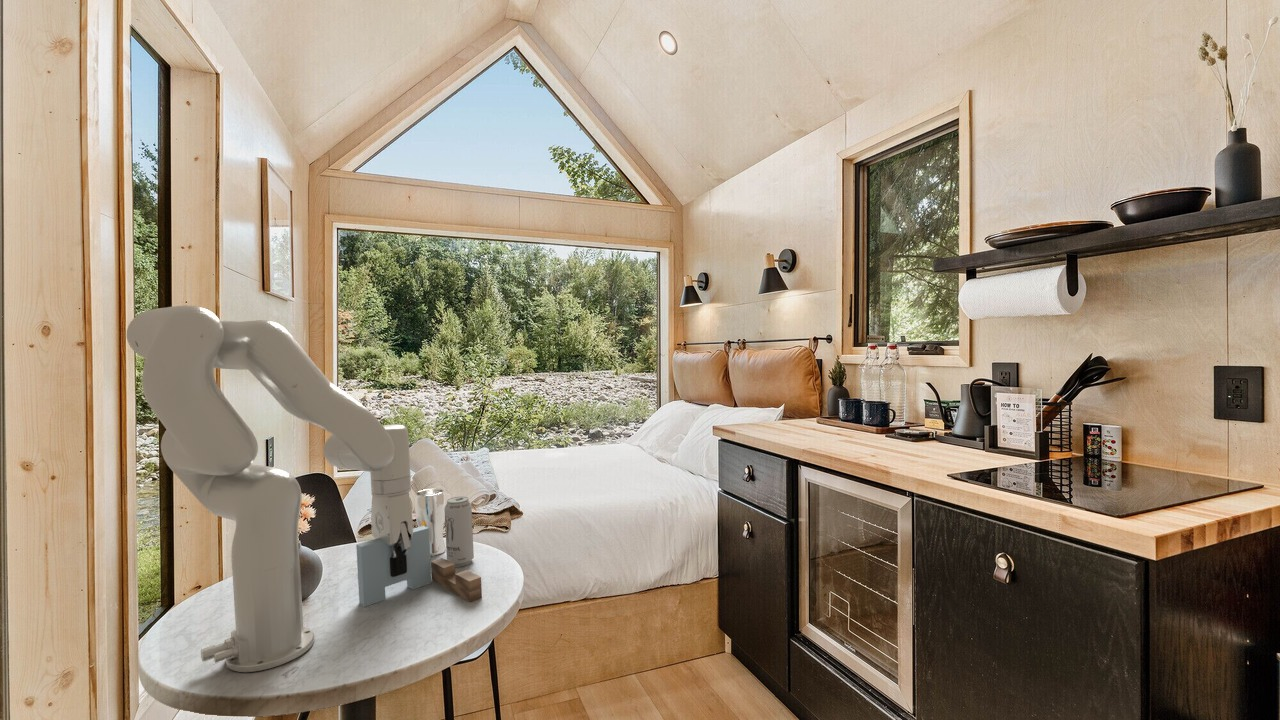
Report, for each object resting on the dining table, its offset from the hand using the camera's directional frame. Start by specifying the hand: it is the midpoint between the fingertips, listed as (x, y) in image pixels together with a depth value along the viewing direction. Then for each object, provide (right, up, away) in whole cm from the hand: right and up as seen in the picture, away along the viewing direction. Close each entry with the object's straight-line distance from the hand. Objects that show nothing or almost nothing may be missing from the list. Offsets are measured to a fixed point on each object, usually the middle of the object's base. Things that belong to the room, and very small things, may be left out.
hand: (395, 572), depth 119 cm
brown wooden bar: (+12, -4, +1) cm, 13 cm away
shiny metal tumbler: (-1, -4, +23) cm, 23 cm away
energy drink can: (+9, -4, +15) cm, 18 cm away
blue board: (0, -4, 0) cm, 4 cm away
